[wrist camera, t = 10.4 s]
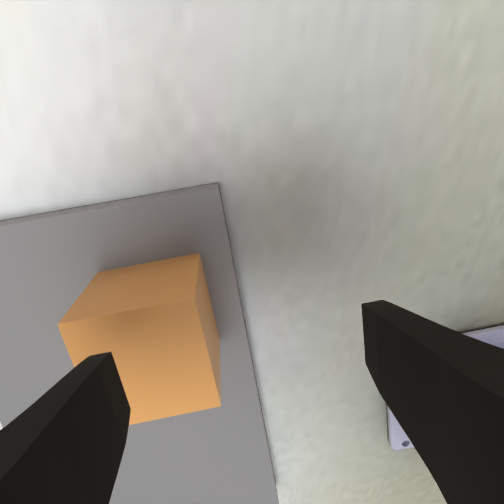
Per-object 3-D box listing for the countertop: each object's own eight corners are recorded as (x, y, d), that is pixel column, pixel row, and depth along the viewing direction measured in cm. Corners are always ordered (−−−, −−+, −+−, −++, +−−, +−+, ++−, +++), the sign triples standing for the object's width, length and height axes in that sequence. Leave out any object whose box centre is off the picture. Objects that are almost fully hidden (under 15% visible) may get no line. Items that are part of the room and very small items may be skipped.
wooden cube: (199, 252, 18) (194, 297, 14) (219, 339, 20) (221, 406, 15) (97, 272, 18) (57, 324, 14) (126, 358, 20) (99, 431, 15)
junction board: (218, 182, 19) (219, 199, 15) (275, 484, 26) (287, 555, 22) (-66, 232, 18) (-150, 265, 14) (72, 526, 25) (44, 607, 21)
